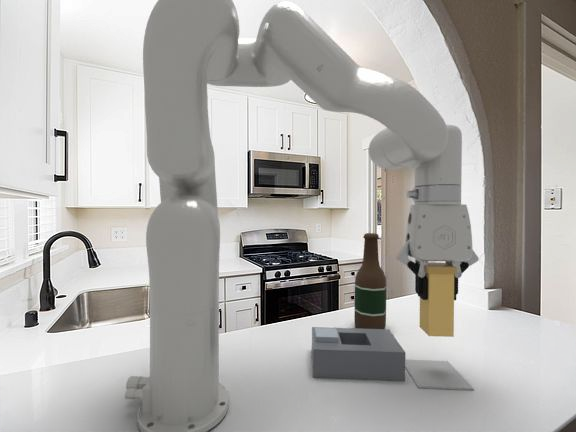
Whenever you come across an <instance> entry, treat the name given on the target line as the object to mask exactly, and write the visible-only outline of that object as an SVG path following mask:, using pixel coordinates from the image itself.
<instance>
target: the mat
mask: <svg viewBox="0 0 576 432" xmlns="http://www.w3.org/2000/svg"><path fill="white" fill-rule="evenodd" d="M405 371H407V373H408V375H409V377H411V379H412V381H413V383H414V384H415V385H416V387H417V388H418V389H429V390H431V389H432V390H433V389H434V390H459V391H474V390H475V388H474V387H473V386H472V385H471V384H470V383H469V382H468V381H467V380H466V379H465V378H464V376H463V375H462V374H461V373H459V371H458V370H457V368H455V367H454V366H453V364H451V363H450V362H449V361H448V360H430V359H428V360H426V359H405Z"/></svg>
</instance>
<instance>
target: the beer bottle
mask: <svg viewBox="0 0 576 432" xmlns="http://www.w3.org/2000/svg"><path fill="white" fill-rule="evenodd" d="M362 238H363V239H364V242H363V243H364V244H363V257H362V258H363V259H362V263H361V265H360V267H359V269H358V270H357V271H356V272H357V273H356V275H355V278H354V279H355V280H354V315H353V316H354V328H358V329H386V324H387V277H386V275H385V272H384V270H383V269H382V267H381V266H380V259H379V241H378V239H380V237H379V234H378V233H374V232H373V233H372V232H368V233H367V232H366V233H364V234H363V237H362Z"/></svg>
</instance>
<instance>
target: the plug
mask: <svg viewBox="0 0 576 432" xmlns="http://www.w3.org/2000/svg"><path fill="white" fill-rule="evenodd" d="M425 274H426V277H427V278H428V299H427V300H423V299H422V298H420V297H419V328H420V329H421V330H422V331H423V332H424V333H425V334H426V335H427V336H428V337H442V338H443V337H444V338H445V337H448V338H449V337H450V338H451V337H452V338H454V336H455V334H454V333H455V332H454V326H455V300H454V274H457V267H455V266H451V265H450V264H446V263H445V261H428V264H427V266H426V273H425Z"/></svg>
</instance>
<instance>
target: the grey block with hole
mask: <svg viewBox="0 0 576 432" xmlns="http://www.w3.org/2000/svg"><path fill="white" fill-rule="evenodd" d="M405 360H406V351H405V349H404V348H403V346H402V345H401V344H400V342H399V341H398V339H396V337H395V336H394V334H393V332H392V331H391V330H390V329H387V328H385V329H358V328H355V327H320V326H318V327H317V326H312V327H311V364H312V365H311V366H312V378H325V379H348V380H349V379H351V380H352V379H353V380H374V381H375V380H378V381H400V382H405V381H406V368H405Z"/></svg>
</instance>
